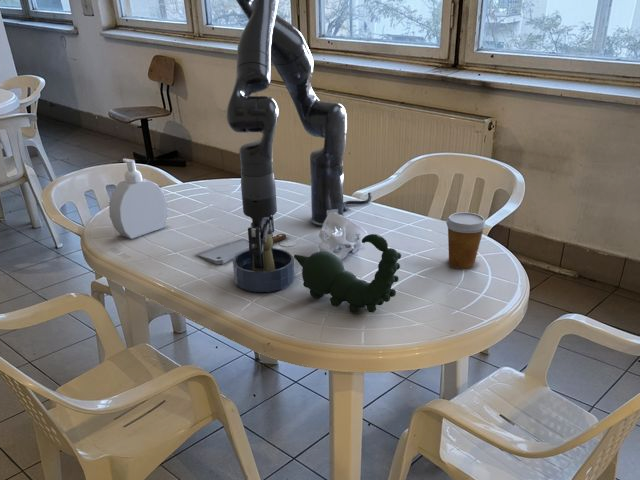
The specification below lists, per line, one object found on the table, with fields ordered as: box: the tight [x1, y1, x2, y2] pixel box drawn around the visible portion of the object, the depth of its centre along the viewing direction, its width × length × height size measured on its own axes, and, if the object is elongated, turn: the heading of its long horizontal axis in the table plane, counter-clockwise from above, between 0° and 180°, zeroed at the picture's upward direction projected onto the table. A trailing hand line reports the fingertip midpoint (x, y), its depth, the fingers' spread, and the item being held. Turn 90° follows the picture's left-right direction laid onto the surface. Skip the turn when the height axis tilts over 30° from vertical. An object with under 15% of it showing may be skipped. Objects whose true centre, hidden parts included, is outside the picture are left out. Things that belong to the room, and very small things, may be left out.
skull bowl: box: [317, 212, 369, 261], centre depth 160 cm, size 10×14×12 cm
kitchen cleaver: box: [196, 233, 287, 265], centre depth 164 cm, size 24×1×10 cm
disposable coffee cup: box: [445, 211, 487, 270], centre depth 152 cm, size 10×10×12 cm
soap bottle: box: [108, 158, 169, 240], centre depth 170 cm, size 16×5×20 cm, turn 141°
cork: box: [252, 234, 275, 271], centre depth 144 cm, size 6×6×11 cm
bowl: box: [232, 247, 296, 293], centre depth 146 cm, size 14×14×6 cm
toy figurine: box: [293, 233, 402, 314], centre depth 133 cm, size 9×19×25 cm
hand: (263, 260), depth 145 cm, fingers open, 8 cm apart
